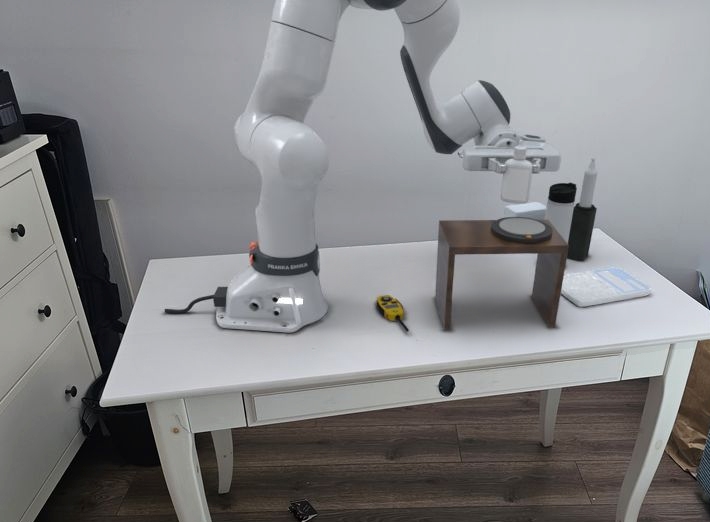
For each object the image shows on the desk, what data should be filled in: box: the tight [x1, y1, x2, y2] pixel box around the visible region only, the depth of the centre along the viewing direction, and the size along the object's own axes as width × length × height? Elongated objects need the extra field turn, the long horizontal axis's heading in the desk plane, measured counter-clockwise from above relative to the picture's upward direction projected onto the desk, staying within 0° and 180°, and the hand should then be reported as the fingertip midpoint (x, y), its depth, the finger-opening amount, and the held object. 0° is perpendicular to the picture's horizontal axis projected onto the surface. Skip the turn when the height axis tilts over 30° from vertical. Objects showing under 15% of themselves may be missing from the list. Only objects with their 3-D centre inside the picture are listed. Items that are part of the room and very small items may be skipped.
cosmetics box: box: [502, 201, 547, 220], centre depth 161 cm, size 10×6×10 cm, turn 113°
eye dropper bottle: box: [500, 140, 533, 204], centre depth 123 cm, size 4×6×12 cm
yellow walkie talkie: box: [376, 294, 410, 333], centre depth 128 cm, size 5×2×15 cm
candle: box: [567, 157, 598, 262], centre depth 152 cm, size 5×5×25 cm
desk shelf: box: [434, 219, 569, 332], centre depth 127 cm, size 23×14×18 cm, turn 96°
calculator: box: [561, 266, 652, 308], centre depth 142 cm, size 13×20×2 cm, turn 112°
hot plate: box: [491, 217, 553, 244], centre depth 122 cm, size 12×12×1 cm
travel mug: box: [545, 181, 578, 244], centre depth 148 cm, size 6×7×20 cm
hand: (519, 169), depth 122 cm, fingers closed on eye dropper bottle, 5 cm apart
